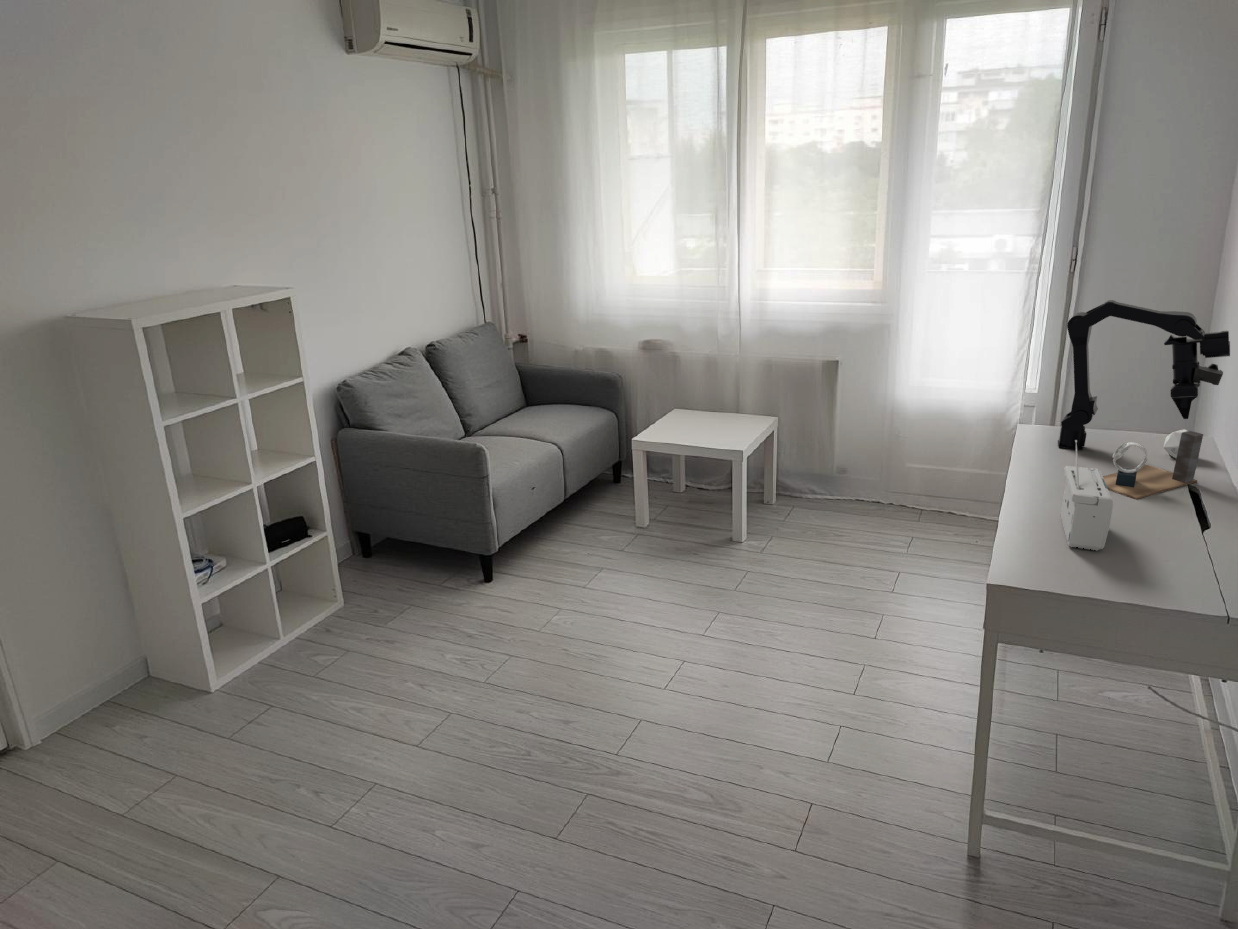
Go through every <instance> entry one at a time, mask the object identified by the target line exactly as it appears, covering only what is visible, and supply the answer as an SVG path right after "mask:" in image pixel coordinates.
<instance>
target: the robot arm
mask: <svg viewBox="0 0 1238 929" xmlns="http://www.w3.org/2000/svg"><path fill="white" fill-rule="evenodd" d="M1109 317H1114V318H1118V319H1122V320H1127V321H1132V322H1137V323H1141V324H1145V325H1151V326H1154V327H1157V328H1159V329H1161V330H1163V331H1165V332H1168V333H1170V335H1169V337H1168V338H1167V339H1166V340H1164V342H1163V345H1164V346H1172V347H1171V348H1172V349H1171V350H1172V366H1171V368H1172V372H1173V373H1172V384H1173V385H1172V386H1171V388H1170V391H1169V392H1170V398H1171V399H1172V400H1173V401H1172V402H1173V403H1174V404H1175V406H1176V407H1177V410H1178V411H1179V413H1180V415H1181V417H1182V419H1183V420H1188V419H1189V416H1190V411H1191V407H1192V402H1193V401H1194V400H1196V399H1197V398H1198V396H1199V387H1200V386H1201V382H1205V383H1208V384H1212V385H1213V386H1219V385H1220V383H1221V380H1222V378H1223V375H1224V371H1223V370H1221V369H1219V365H1218V364H1216V363H1211V364H1210V365H1208V366H1201V365H1200V361H1198V343H1199V355H1202V357H1204V358H1205V359H1211V358H1212V359H1213V358H1224V357H1225V358H1226V357H1227V358H1228V357H1230V356H1231V341H1230V336H1229V335H1230V331H1229V330H1222V331H1216V332H1215V331H1214V332H1206V331H1205V330H1204V329H1203V328H1202V327H1201V326H1200V325H1199V324H1198V323H1197V322H1198V321H1197V317H1196V316H1195V315H1194V314H1193V313H1191V312H1188V311H1175V310H1174V311H1172V310H1171V311H1170V310H1169V311H1166V310H1165V311H1162V310H1156V309H1152V308H1147V307H1142V306H1137V305H1133V304H1129V303H1124V302H1118V301H1116V300H1114V299H1109V300H1107V301H1105V302H1104V303H1102V304H1100V305H1098V306H1095V307H1093V308H1092V309H1090V310H1088V311H1086V312H1085V311H1084V312H1083V311H1080V312H1077V313H1075V314H1073V315H1072V316H1071V318H1069V320H1068V322H1067V325H1066V328H1067V333H1068V337H1069V340H1070V342H1071V346H1072V355H1073V356H1072V357H1073V358H1072V359H1073V360H1072V361H1073V379H1074V380H1073V381H1074V382H1073V383H1074V384H1073V385H1074V395H1073V399H1072V404H1071V411H1070V412H1068V413H1066V414H1065V415H1064V417H1063V419H1062V420H1061V422H1060V424H1061V425H1060V431H1059V436H1058V439H1057V447H1058V448H1059V449H1070V450H1076V442H1075V440H1077V451H1082V450H1083V449H1084V448H1083V447H1085V445H1086V441H1087V440H1086V438H1087V431H1086V427H1085V426H1086V425H1088V424H1090V422H1091V421H1092V420H1093V418H1094V416H1095V415H1096V414H1097V411H1098V409H1099V408H1098V406H1097V401H1098V396H1097V395H1096V396H1092V394H1091V388H1090V385H1091V383H1090V382H1091V381H1090V358H1089V357H1090V355H1089V354H1090V353H1089V352H1090V351H1089V343H1090V338H1091V334H1092V328H1093V326H1094V325H1096V324H1098V323H1100V322H1102V321H1103V320H1105V319H1107V318H1109ZM1174 335H1175V336H1178V337H1175V336H1174Z"/></svg>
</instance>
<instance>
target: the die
mask: <svg viewBox="0 0 1238 929" xmlns="http://www.w3.org/2000/svg"><path fill="white" fill-rule="evenodd" d="M1186 431H1188V430H1187V429H1185V428H1183V429H1180V430H1176V431H1173V432H1171V433H1170V434H1168V435H1167V436H1166V437H1165V440H1164V444H1163V446H1162V447H1163V448H1164V450H1165V452H1166V453H1167V454H1168V455H1169V456H1171V457H1172V458H1174V459H1175V460H1176V458H1177V453H1178V448H1179V444H1180V439H1181V434H1182V432H1186Z"/></svg>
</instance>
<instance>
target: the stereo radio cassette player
mask: <svg viewBox="0 0 1238 929" xmlns="http://www.w3.org/2000/svg"><path fill="white" fill-rule="evenodd" d="M1075 442H1076V449H1075V465H1074V466H1072V465H1065V466H1064V468H1063V474H1064V478H1065V485H1064V492H1063V497H1062V503H1061V509H1060V518H1061V522H1062V526H1063V529H1064V530H1063V531H1064V534H1065V538H1066V542H1067V546H1068V547H1069V546H1072V547H1071V548H1076V547H1078V548H1077V549H1083V548H1084V549H1083V550H1090V549H1091V551H1094V550H1096V551H1099V550H1103V549H1104V547H1105V546H1106V541H1107V539H1108V534H1109V530H1110V525H1111V519H1112V515H1113V506H1114V505H1113V504H1114V502H1113V498H1112V496H1111V494H1110V490H1108V488H1107V486H1106V483H1105V481H1104V478H1103V476H1104V475H1103V472H1102V471H1101V470H1100V469H1099V468H1095V467H1084V466H1079V457H1078V450H1077V440H1075Z"/></svg>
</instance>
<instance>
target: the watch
mask: <svg viewBox="0 0 1238 929" xmlns="http://www.w3.org/2000/svg"><path fill="white" fill-rule="evenodd" d="M1132 446H1133V447H1136V448H1140V449H1141V450H1142V451H1143V453H1144V454H1145V455H1144V458H1143V459H1142V460H1141V462H1140V463H1139V464H1138V465H1137V466H1135V467H1134V468H1135V469H1132V468H1126V467H1121V466H1120V465H1119V464H1118V463H1117V460H1119V459H1121V457H1123V456H1124V455H1125V454H1126V452H1127V451H1128V450H1129V448H1130V447H1132ZM1112 458H1113V459H1112V462H1113V466H1114V467H1115V468H1116V470H1118V471H1117V472H1118V473H1117V472H1116V473H1117V478H1116V484H1115V485H1121V486H1127V487H1134V486H1135V480H1136V475H1137V472H1138V471H1139V470H1140V469H1141V468H1142V467H1143V466H1144V465H1147V462H1148V451H1147V449H1146V447H1144V445H1142V444H1140V443H1137V442H1135V441H1134V442H1133V441H1129V442H1127V443H1126V442H1123V443H1122V444H1121V445H1120V446H1118V447H1117V449H1116V450H1115V451H1114V453H1113V454H1112Z"/></svg>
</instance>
